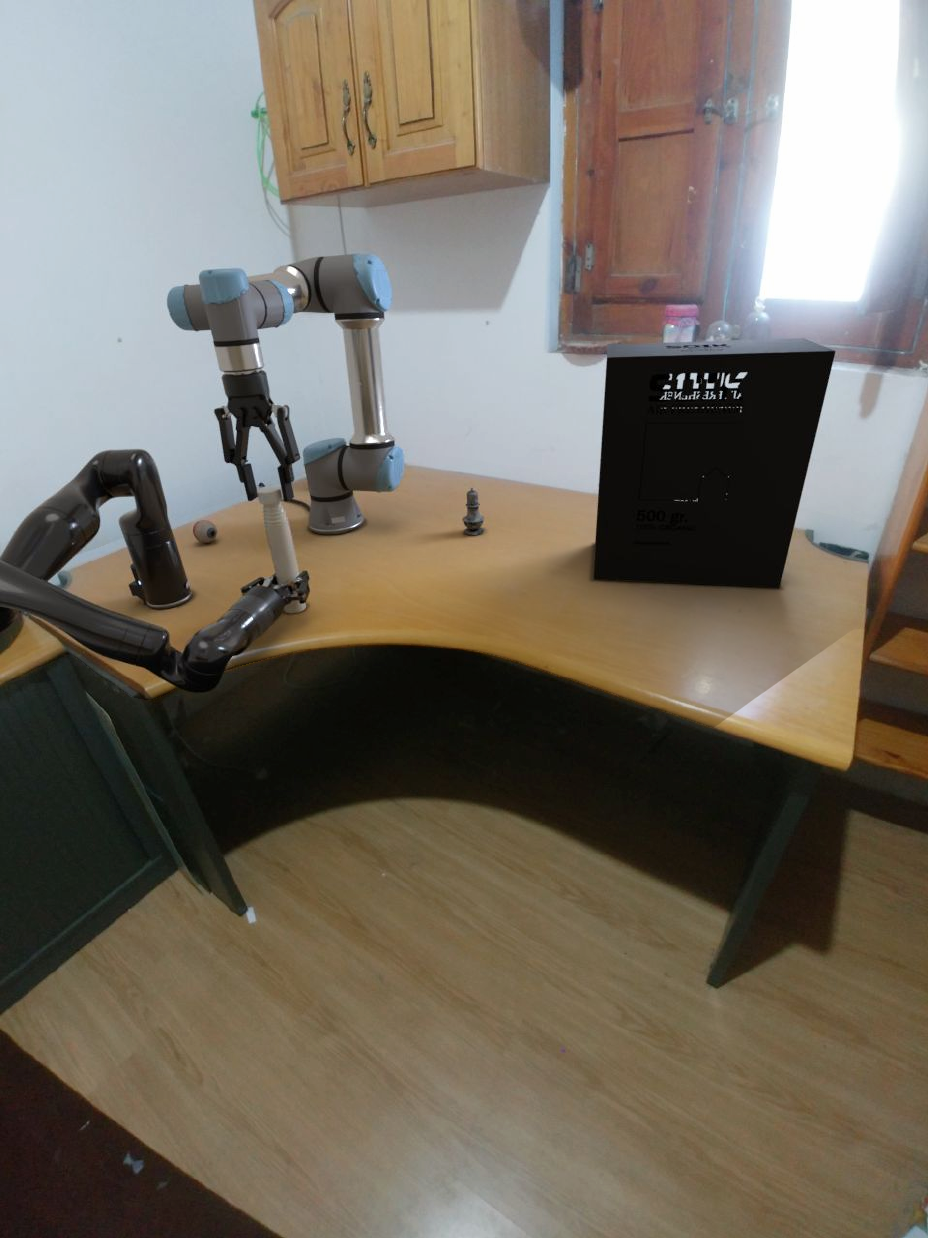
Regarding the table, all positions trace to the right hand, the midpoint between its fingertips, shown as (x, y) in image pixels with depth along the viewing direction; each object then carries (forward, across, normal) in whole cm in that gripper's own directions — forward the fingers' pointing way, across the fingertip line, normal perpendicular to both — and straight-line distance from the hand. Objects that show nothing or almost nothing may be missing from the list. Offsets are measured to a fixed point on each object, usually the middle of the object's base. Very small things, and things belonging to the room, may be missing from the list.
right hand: (271, 498), depth 116 cm
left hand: (+17, 0, -3) cm, 18 cm away
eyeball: (+24, +40, -32) cm, 57 cm away
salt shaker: (+24, -30, -45) cm, 59 cm away
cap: (-2, 0, 0) cm, 2 cm away
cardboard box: (+24, -81, -29) cm, 89 cm away
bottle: (+24, 0, 0) cm, 24 cm away
